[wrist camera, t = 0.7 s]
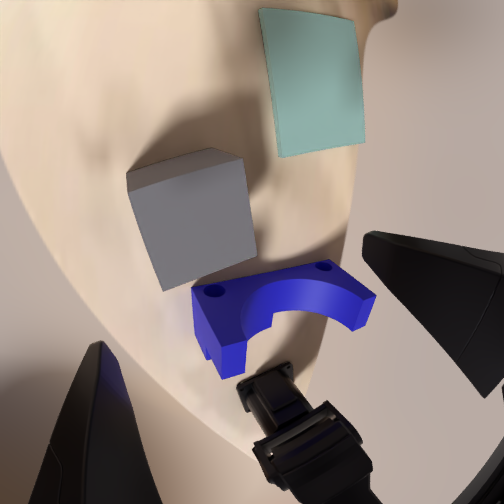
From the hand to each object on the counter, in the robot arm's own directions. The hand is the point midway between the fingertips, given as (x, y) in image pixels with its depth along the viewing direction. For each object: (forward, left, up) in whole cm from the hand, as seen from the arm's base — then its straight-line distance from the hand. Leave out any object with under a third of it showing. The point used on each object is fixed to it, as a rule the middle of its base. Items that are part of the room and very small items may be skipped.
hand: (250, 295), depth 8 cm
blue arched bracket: (-9, -4, -10) cm, 14 cm away
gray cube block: (0, 0, -10) cm, 10 cm away
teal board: (+6, -10, -9) cm, 15 cm away
